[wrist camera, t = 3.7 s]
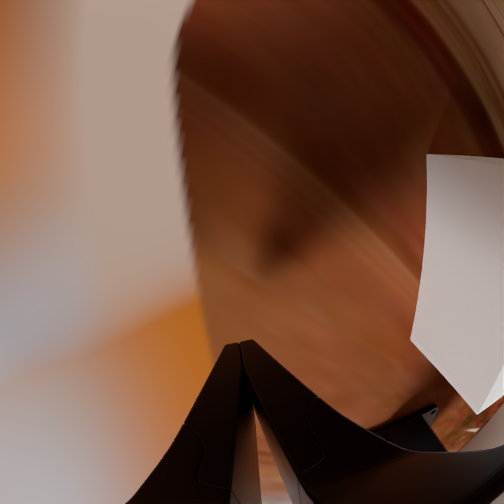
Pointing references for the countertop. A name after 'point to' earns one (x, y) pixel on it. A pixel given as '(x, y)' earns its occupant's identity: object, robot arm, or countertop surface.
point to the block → (464, 276)
